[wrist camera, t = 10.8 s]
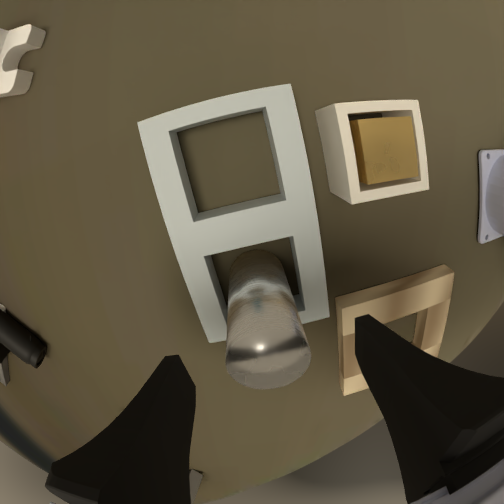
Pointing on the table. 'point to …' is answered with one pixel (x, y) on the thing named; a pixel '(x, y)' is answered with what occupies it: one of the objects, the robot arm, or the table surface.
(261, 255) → the grey rounded cylinder
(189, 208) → the frame
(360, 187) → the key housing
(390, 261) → the table surface
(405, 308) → the wooden square frame
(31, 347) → the submachine gun
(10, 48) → the cable organizer
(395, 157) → the key
